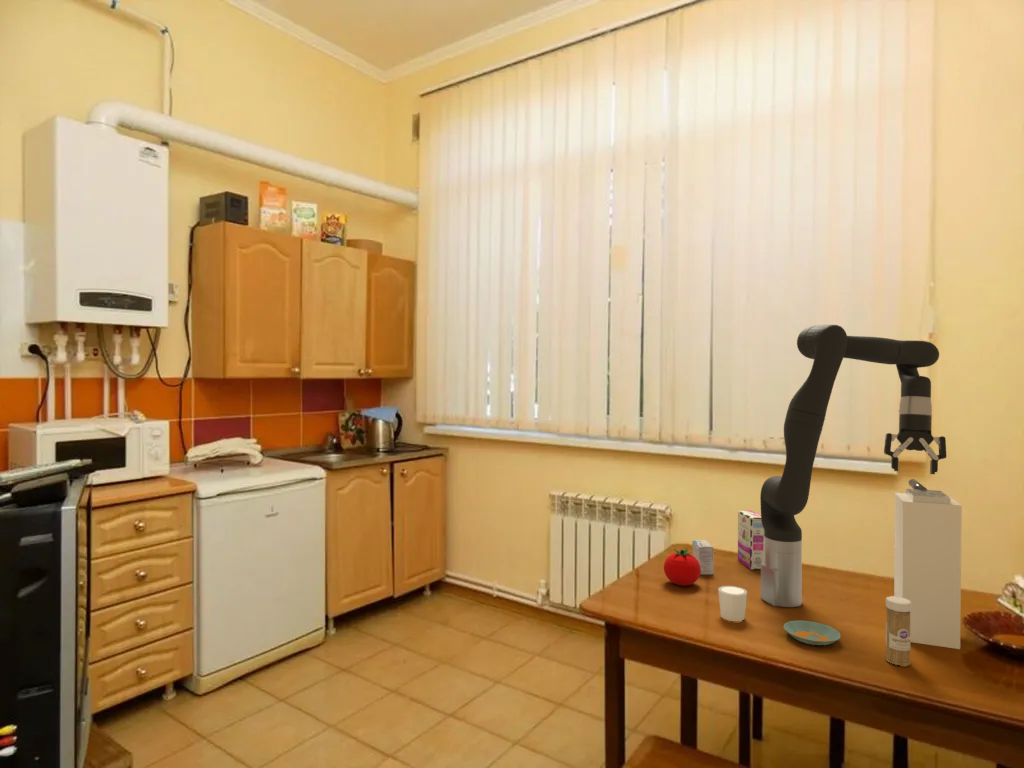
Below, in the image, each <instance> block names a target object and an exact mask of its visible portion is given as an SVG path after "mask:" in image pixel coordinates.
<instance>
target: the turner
mask: <svg viewBox="0 0 1024 768" xmlns="http://www.w3.org/2000/svg"><path fill="white" fill-rule="evenodd" d="M908 486H910V488H905V493H906V495H907V496H908V497H909V498H910V499H911V500H912V501H913V502H925V503H939V504H950V497H951V496H950V497H948V496H949V495H947V494H946V493H945V492H943V491H942V490H934V489H933V490H932V489H927V487H925V486H924V484H922V483H920V482H919V481H918V480H916V479H913V478H911V479H909V481H908Z"/></svg>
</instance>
